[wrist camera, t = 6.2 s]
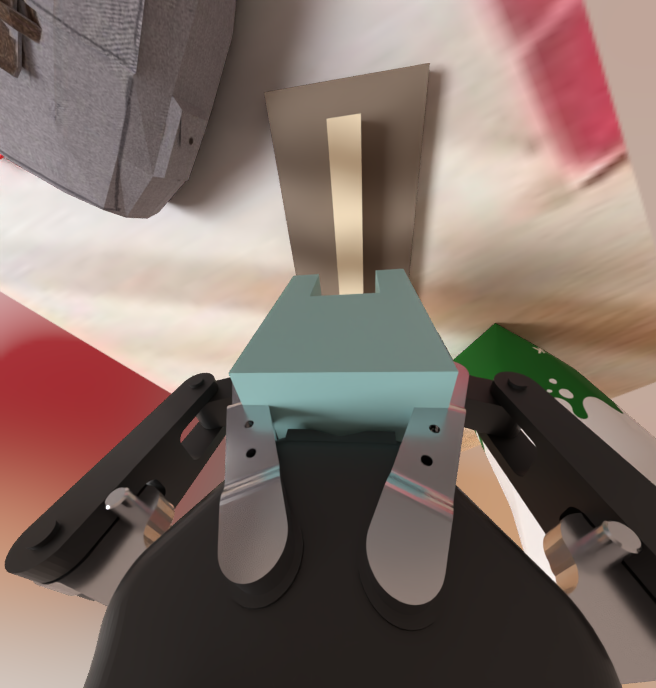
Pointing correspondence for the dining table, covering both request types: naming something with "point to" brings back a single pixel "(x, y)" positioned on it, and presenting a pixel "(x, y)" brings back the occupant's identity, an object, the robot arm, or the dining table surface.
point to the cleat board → (380, 167)
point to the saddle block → (346, 359)
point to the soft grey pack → (110, 94)
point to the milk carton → (574, 394)
